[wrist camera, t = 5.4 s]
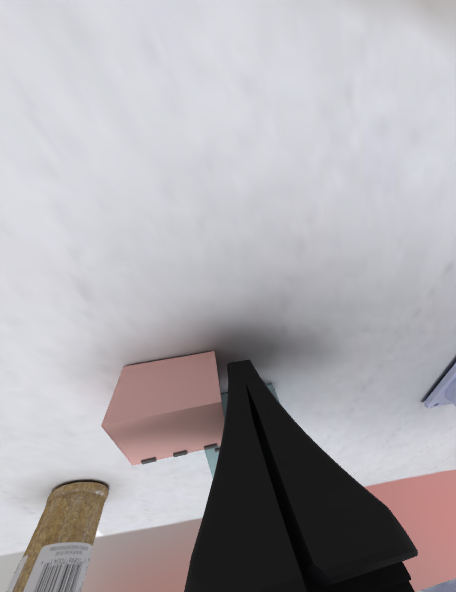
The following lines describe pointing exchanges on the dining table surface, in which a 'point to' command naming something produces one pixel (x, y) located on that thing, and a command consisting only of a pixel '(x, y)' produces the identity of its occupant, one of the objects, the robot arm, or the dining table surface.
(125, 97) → the dining table surface
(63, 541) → the sprinkles bottle
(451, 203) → the dining table surface
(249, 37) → the dining table surface
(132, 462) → the stub
